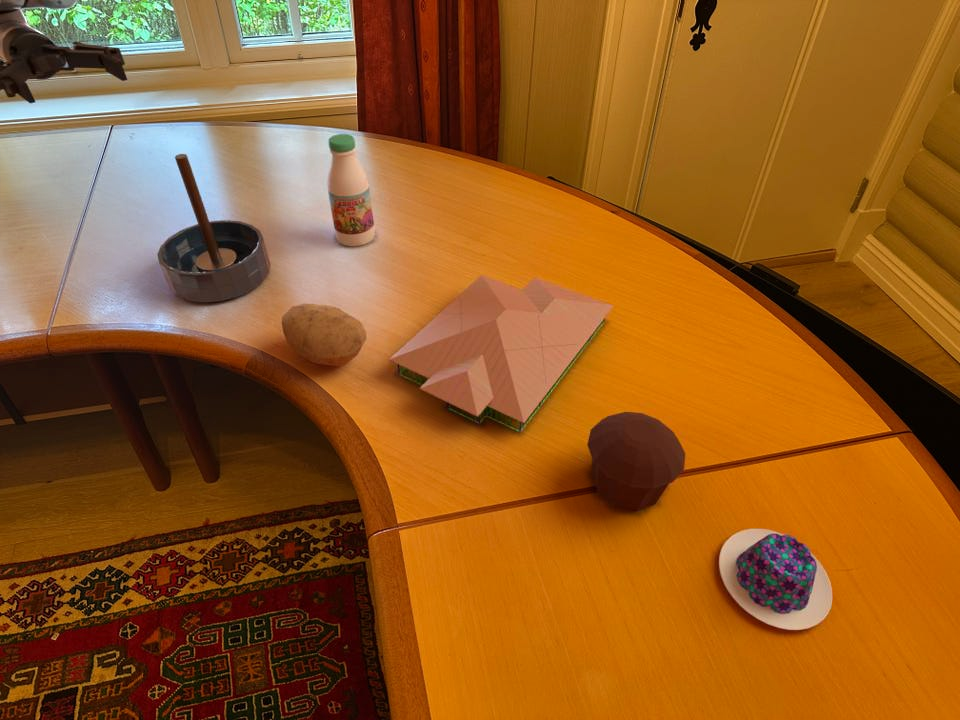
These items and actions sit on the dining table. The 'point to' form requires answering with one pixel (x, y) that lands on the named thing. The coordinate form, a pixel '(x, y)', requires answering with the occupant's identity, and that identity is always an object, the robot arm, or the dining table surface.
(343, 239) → the milk bottle
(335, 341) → the potato
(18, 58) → the robot arm
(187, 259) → the bowl
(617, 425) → the muffin
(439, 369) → the house
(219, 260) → the brown rod with cylinder
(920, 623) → the dining table surface
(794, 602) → the pudding
